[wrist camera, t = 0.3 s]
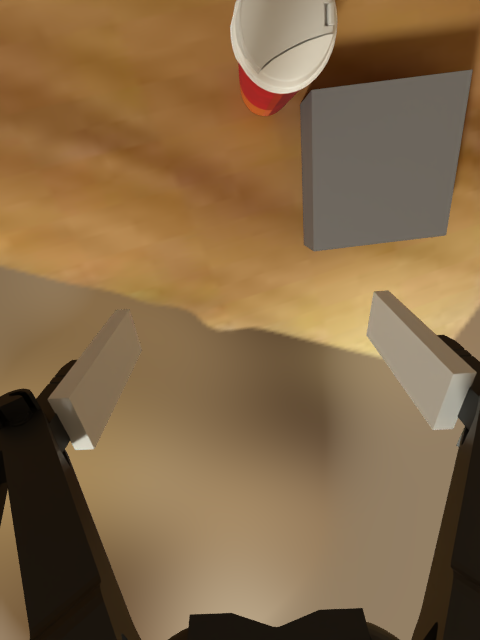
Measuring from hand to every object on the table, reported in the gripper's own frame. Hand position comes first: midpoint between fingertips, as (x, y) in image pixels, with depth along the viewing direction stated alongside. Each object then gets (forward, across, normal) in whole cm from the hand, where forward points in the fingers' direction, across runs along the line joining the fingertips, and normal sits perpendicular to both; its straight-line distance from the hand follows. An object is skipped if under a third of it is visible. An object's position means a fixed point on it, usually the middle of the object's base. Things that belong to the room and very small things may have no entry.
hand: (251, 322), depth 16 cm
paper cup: (+28, +3, +14) cm, 32 cm away
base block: (+27, +16, +5) cm, 32 cm away
